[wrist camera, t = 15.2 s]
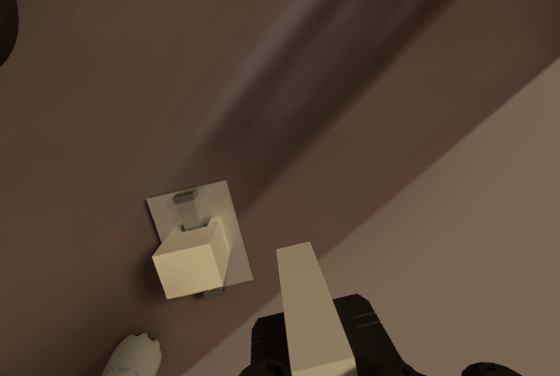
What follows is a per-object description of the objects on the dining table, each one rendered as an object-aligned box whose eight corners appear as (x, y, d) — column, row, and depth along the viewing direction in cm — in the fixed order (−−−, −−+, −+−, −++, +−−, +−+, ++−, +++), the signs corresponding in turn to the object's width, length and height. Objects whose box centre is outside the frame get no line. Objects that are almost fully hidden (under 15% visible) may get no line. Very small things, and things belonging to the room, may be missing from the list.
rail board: (182, 291, 43) (176, 307, 39) (149, 196, 39) (139, 204, 36) (253, 275, 43) (253, 288, 39) (227, 178, 39) (224, 184, 36)
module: (185, 264, 40) (167, 300, 33) (173, 227, 39) (151, 256, 31) (230, 253, 40) (223, 287, 33) (219, 217, 39) (210, 243, 31)
